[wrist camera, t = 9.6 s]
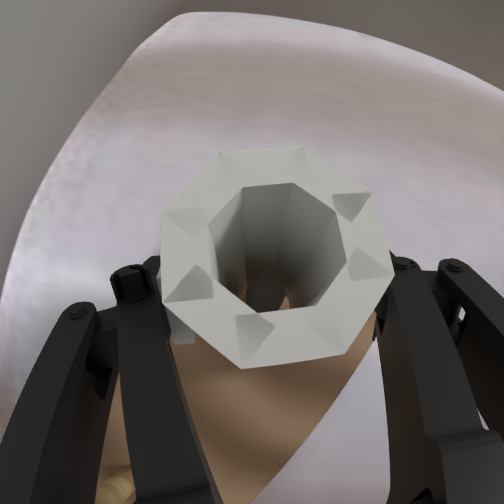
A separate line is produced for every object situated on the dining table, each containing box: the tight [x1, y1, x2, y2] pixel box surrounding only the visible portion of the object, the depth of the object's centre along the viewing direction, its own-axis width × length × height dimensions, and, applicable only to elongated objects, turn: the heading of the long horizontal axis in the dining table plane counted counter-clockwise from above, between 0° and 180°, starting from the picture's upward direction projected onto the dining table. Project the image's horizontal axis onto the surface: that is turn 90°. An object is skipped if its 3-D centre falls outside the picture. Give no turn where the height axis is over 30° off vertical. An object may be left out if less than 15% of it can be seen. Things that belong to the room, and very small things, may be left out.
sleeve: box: [160, 146, 395, 369], centre depth 13 cm, size 6×6×11 cm
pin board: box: [95, 274, 377, 504], centre depth 15 cm, size 28×14×8 cm, turn 144°
